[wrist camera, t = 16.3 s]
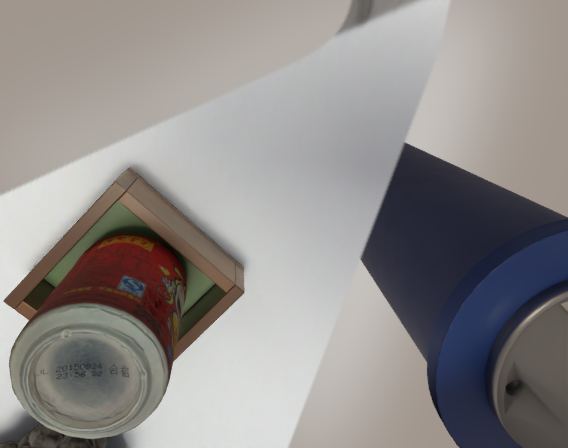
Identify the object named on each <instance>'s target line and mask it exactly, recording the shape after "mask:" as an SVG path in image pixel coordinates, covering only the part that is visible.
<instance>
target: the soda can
mask: <svg viewBox="0 0 568 448" xmlns="http://www.w3.org/2000/svg"><path fill="white" fill-rule="evenodd" d="M186 292H187V283H186V277H185V274H184V271H183V268H182V265H181V264H180V262H179V261H178V259H177V257H176V256H175V254H174V253H173V252H172V251H170V250H169V249H168V248H167V247H166V246H164V245H163V244H162V243H161V242H159V241H156V240H154V239H152V238H150V237H147V236H143V235H138V234H125V233H123V234H119V235H114V236H110V237H106V238H104V239H102V240H100V241H97V242H95V243H94V244H93V245H92V246H91V247H89V248H88V249H87V250H86V251H85V252H84V253H83V254H82V255H81V257H80V258H79V259H78V260H77V262H76V263H75V265H74V266H73V268H72V269H71V270H70V271H69V272H68V274H67V275H66V276H65V277H64V279H63V280H62V281H61V282H60V283H59V285H58V286H57V287H56V288H55V289H54V291H53V292H52V293H51V294H50V295H49V297H48V298H47V299H46V301H45V302H44V303H43V304H42V306H41V307H40V308H39V309H38V311H37V312H36V313H35V314H34V315H33V317H32V318H31V319H30V320H29V322H28V323H27V324H26V326H25V327H24V328H23V330H22V331H21V333H20V334H19V336H18V337H17V339H16V341H15V343H14V345H13V347H12V350H11V355H10V360H9V368H10V376H11V382H12V388H13V391H14V393H15V395H16V397H17V398H18V400H19V401H20V403H21V404H22V406H23V407H24V409H25V410H26V411H27V412H28V413H29V414H30V415H31V416H32V417H33V418H35V419H36V420H37V421H38V422H40V423H42V424H43V425H44V426H45V427H47V428H49V429H52V430H54V431H57V432H59V433H62V434H64V435H67V436H72V437H79V438H87V439H95V438H103V437H112V436H116V435H118V434H121V433H123V432H126V431H129V430H131V429H133V428H135V427H136V426H138V425H139V424H141V423H142V422H143V421H144V420H145V419H146V418H148V417H149V416H150V415H151V414H152V412H153V411H154V410H155V409H156V408H157V407H158V405H159V404H160V402H161V400H162V398H163V396H164V394H165V392H166V389H167V386H168V383H169V379H170V374H171V369H172V364H173V358H174V353H175V348H176V343H177V338H178V333H179V329H180V325H181V319H182V314H183V309H184V304H185V300H186Z"/></svg>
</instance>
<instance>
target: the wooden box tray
mask: <svg viewBox="0 0 568 448" xmlns="http://www.w3.org/2000/svg"><path fill="white" fill-rule="evenodd" d="M123 233H125V234H138V235H143V236H147V237H150V238H152V239H154V240H156V241H159V242H161V243H162V244H163V245H164V246H166V247H167V248H168V249H169V250H170V251H172V252H173V253H174V254H175V256H176V257H177V259H178V261H179V262H180V264H181V265H182V268H183V271H184V274H185V277H186V283H187V292H186V300H185V304H184V309H183V314H182V319H181V325H180V329H179V333H178V338H177V343H176V348H175V353H174V358H173V361H174V360H175V359H176V358H177V357H178V356H179V355H180V354H182V353H183V352H184V351H185V350H186V349H187V348H188V347H189V346H190V345H191V344H192V343H193V342H194V341H195V340H196V339H197V338H198V337H199V336H200V335H201V334H202V333H203V332H204V331H205V330H206V329H207V328H208V327H209V326H210V325H212V324H213V323H214V322H215V321H216V320H217V319H218V318H219V317H220V316H221V315H222V314H223V313H224V312H225V311H226V310H227V309H228V308H229V307H230V306H231V305H232V304H233V303H234V302H235V301H236V300H237V299H238V298H239V297H240V296H242V295H243V294H244V273H243V271H244V269H243V267H242V266H241V265H240V264H239V263H238V262H236V261H235V260H234V259H233V258H232V257H231V256H230V255H228V254H227V253H226V252H225V251H224V250H223V249H222V248H221V247H219V246H218V245H217V244H216V243H215V242H214V241H213V240H211V239H210V238H209V237H208V236H207V235H206V234H205V233H203V232H202V231H201V230H200V229H199V228H198V227H197V226H195V225H194V224H193V223H192V222H191V221H190V220H189V219H187V218H186V217H185V216H184V215H183V214H182V213H181V212H180V211H178V210H177V209H176V208H175V207H174V206H173V205H172V204H170V203H169V202H168V201H167V200H166V199H165V198H164V197H162V196H161V195H160V194H159V193H158V192H157V191H156V190H154V189H153V188H152V187H151V186H150V185H149V184H148V183H146V182H145V181H144V180H143V179H142V178H141V177H140V176H139V175H137V174H136V173H135V172H134V171H133V170H132V169H131V168H128V169H127V170H126V171H125V172H124V173H123V174H122V175H121V176H120V177H119V178H118V179H117V180H116V181H115V182H114V183H113V184H112V185H111V186H110V187H109V188H108V189H107V190H106V192H105V193H104V194H103V195H102V196H101V197H100V198H99V199H98V200H97V201H96V202H95V203H94V204H93V205H92V207H91V208H90V209H89V210H88V211H87V212H86V213H85V214H84V215H83V216H82V217H81V218H80V219H79V220H78V221H77V223H76V224H75V225H74V226H73V227H72V228H71V229H70V230H69V231H68V232H67V233H66V234H65V235H64V236H63V238H62V239H61V240H60V241H59V242H58V243H57V244H56V245H55V246H54V247H53V248H52V249H51V250H50V251H49V252H48V254H47V255H46V256H45V257H44V258H43V259H42V260H41V261H40V262H39V263H38V264H37V265H36V266H35V267H34V269H33V270H32V271H31V272H30V273H29V274H28V275H27V276H26V277H25V278H24V279H23V280H22V281H21V282H20V284H19V285H18V286H17V287H16V288H15V289H14V290H13V291H12V292H11V293H10V294H9V295H8V296H7V297H6V298H5V300H4V302H5V303H6V304H8V305H9V306H10V307H12V308H13V309H15V310H16V311H17V312H19V313H20V314H21V315H23V316H24V317H26V318H27V319H28V320H30V319H31V318H32V317H33V315H34V314H35V313H36V312H37V311H38V309H39V308H40V307H41V306H42V304H43V303H44V302H45V301H46V299H47V298H48V297H49V295H50V294H51V293H52V292H53V291H54V289H55V288H56V287H57V286H58V285H59V283H60V282H61V281H62V280H63V279H64V277H65V276H66V275H67V274H68V272H69V271H70V270H71V269H72V268H73V266H74V265H75V263H76V262H77V260H78V259H79V258H80V257H81V255H82V254H83V253H84V252H85V251H86V250H87V249H88V248H89V247H91V246H92V245H93V244H94V243H95V242H97V241H100V240H102V239H104V238H106V237H110V236H114V235H119V234H123Z"/></svg>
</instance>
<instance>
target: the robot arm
mask: <svg viewBox="0 0 568 448" xmlns="http://www.w3.org/2000/svg"><path fill="white" fill-rule="evenodd" d="M485 389H486V395H487V399H488V402H489V405H490V407H491V409H492V411H493V413H494V415H495V416H496V417H497V419H498V420H499V421H500V423H501V424H502V426H503V427H504V428H505V430H506V431H507V432H508V434H509V435H510V436H511V437H512V438H513V439H514V440H515V442H517V443H518V444H519V445H520V446H521V447H523V448H568V280H567V281H564V282H561V283H559V284H556V285H554V286H552V287H550V288H548V289H546V290H544V291H542V292H541V293H539V294H537V295H536V296H534V297H533V298H532V299H530V300H529V301H528V302H526V303H525V304H524V305H523V306H522V307H521V308H519V309H518V310H517V311H516V312H515V313H514V314H513V316H512V317H511V318H510V319H509V320H508V321H507V323H506V324H505V325H504V327H503V328H502V330H501V331H500V333H499V334H498V336H497V338H496V340H495V342H494V344H493V346H492V348H491V351H490V353H489V357H488V360H487V365H486V371H485Z"/></svg>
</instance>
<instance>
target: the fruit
mask: <svg viewBox="0 0 568 448" xmlns="http://www.w3.org/2000/svg"><path fill="white" fill-rule="evenodd" d="M106 445H107V437H103V438H95V439H87V438H79V437H72V436H67V435H64V434H62V433H59V432H57V431H54V430H52V429H49V428H47V427H45V426H44V425H43V424H42V423H40V424H39V426H37V427H36V428H34V430H33V431H32V432H30V433H29V434H27V435H25V436H24V437H23V438H22V439H21V440H20V441H19V443H16V442H13V441H12V442H7V443H2V444H1V446H0V448H106Z"/></svg>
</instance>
